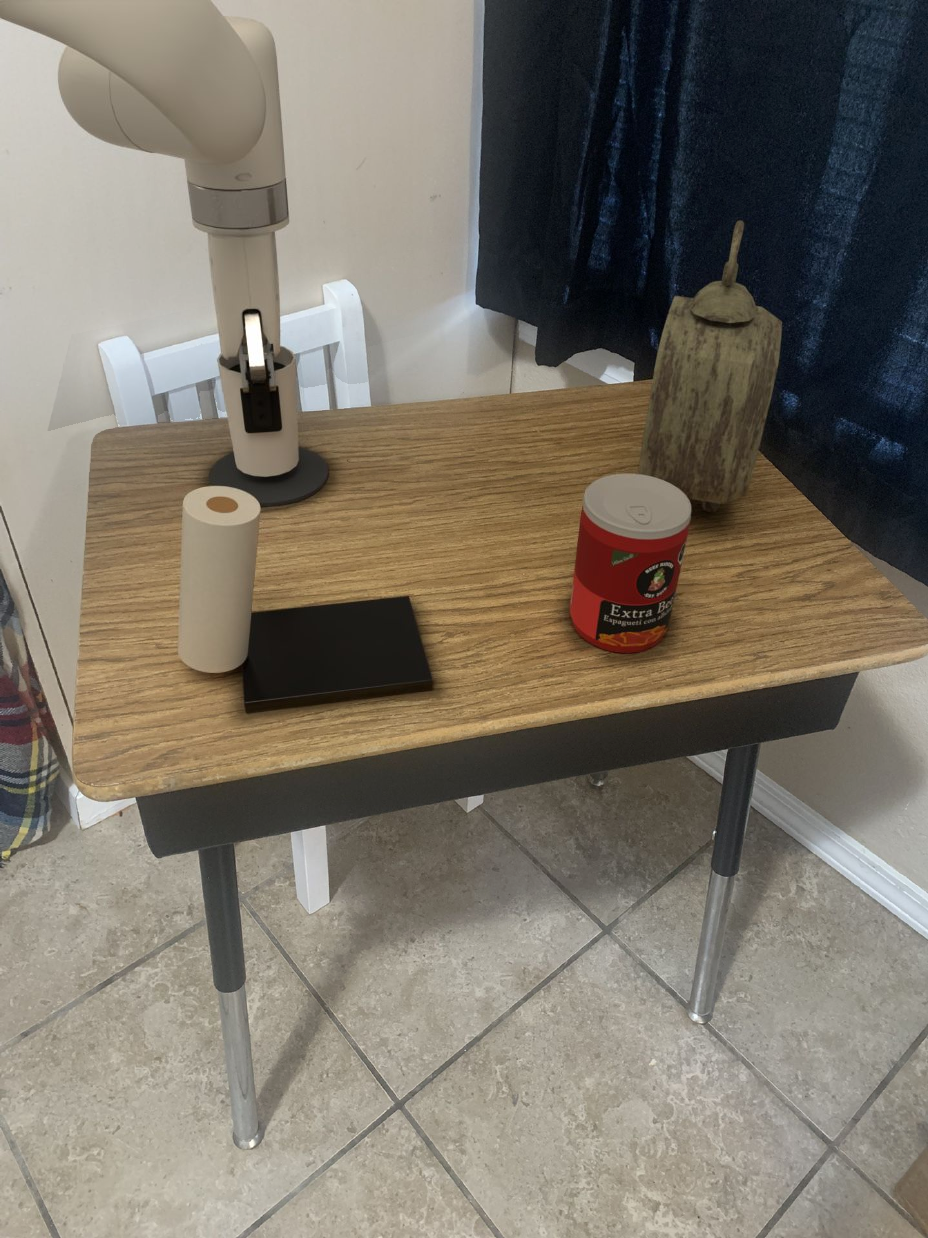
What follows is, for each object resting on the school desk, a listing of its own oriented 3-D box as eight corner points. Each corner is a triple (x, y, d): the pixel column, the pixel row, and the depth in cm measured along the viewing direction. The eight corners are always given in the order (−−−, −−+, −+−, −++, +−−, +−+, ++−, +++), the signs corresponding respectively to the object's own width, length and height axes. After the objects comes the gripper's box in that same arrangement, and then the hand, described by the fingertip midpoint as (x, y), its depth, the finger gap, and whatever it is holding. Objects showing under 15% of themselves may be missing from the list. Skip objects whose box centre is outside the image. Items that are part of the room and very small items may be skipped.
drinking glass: (228, 480, 88) (214, 375, 81) (232, 444, 93) (219, 343, 87) (303, 477, 88) (295, 373, 82) (303, 442, 94) (295, 342, 87)
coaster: (210, 511, 86) (209, 507, 86) (208, 452, 95) (208, 448, 95) (334, 501, 88) (334, 497, 88) (322, 443, 97) (322, 439, 97)
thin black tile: (245, 713, 67) (243, 703, 66) (240, 623, 74) (238, 613, 74) (433, 690, 69) (433, 679, 68) (409, 605, 77) (409, 595, 76)
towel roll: (249, 674, 68) (177, 673, 66) (246, 631, 72) (177, 629, 70) (262, 526, 61) (182, 522, 59) (258, 487, 65) (183, 482, 63)
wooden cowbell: (648, 462, 96) (693, 193, 80) (743, 478, 94) (807, 205, 78) (626, 540, 85) (673, 246, 69) (732, 559, 83) (805, 261, 67)
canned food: (598, 665, 72) (617, 539, 65) (550, 603, 77) (563, 481, 71) (688, 642, 74) (715, 519, 67) (635, 584, 80) (655, 464, 73)
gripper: (190, 175, 82) (217, 376, 94) (189, 238, 69) (221, 464, 80) (280, 173, 84) (296, 371, 95) (296, 234, 71) (312, 457, 82)
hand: (261, 412), depth 88 cm, fingers closed on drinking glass, 5 cm apart
